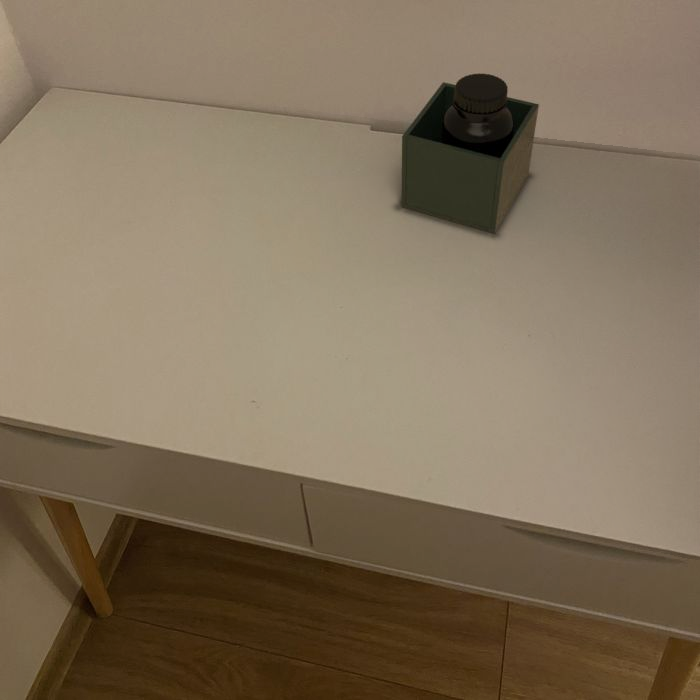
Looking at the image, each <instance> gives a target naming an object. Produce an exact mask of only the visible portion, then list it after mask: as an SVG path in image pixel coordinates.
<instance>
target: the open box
mask: <svg viewBox="0 0 700 700" xmlns="http://www.w3.org/2000/svg"><path fill="white" fill-rule="evenodd" d="M455 85H456V84H453V83H449V82H445V81H443V82H442V83H440V85H439V87H438V88H437V89H436V91H435V92H434V93H433V95H432V96H431V97H430V98H429V100H428V101H427V103H426V104H425V105H424V106H423V108H422V109H421V110H420V112H419V113H418V115H417V116H416V117H415V118H414V120H413V121H412V122H411V124H410V125H409V126H408V128H407V129H406V131H405V132H403V135H402V136H401V201H400V202H401V205H400V206H401V207H402V208H404V209H407V210H412V211H414V212H418V213H422V214H425V215H428V216H432V217H434V218H435V217H436V218H439V219H442V220H445V221H450V222H453V223H456V224H460V225H463V226H467V227H469V228H474V229H477V230H481V231H484V232H487V233H491V234H494V235H495V234H496V232H497V231H498V229H499V227H500V225H501V224H502V223H503V220H504V218H505V216H506V215H507V213H508V211H509V210H510V208H511V206H512V205H513V202H514V201H515V199H516V197H517V195H518V194H519V192H520V190H521V189H522V187H523V185H524V183H525V181H526V180H527V178H528V176H529V171H530V166H531V158H532V154H533V146H534V139H535V134H536V133H535V132H536V126H537V120H538V115H539V114H538V113H539V107H540V103H534V102H530V101H526V100H522V99H519V98H513V97H509V96H507V106H506V107H507V108H508V109H509V111H510V112H511V114H512V116H513V119H514V133H513V139H512V140H511V142H510V143H509V145H508V147H507V148H506V150H505V151H504V153H503V155H502V156H501V158H497V157H493V156H489V155H486V154H482V153H478V152H474V151H470V150H466V149H462V148H458V147H454V146H451V145H447V144H443V143H441V129H442V119H443V116H444V114H445V112H446V111H447V109H448V108H449V107H450V106H452V105H453V97H454V93H455Z"/></svg>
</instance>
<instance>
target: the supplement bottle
mask: <svg viewBox="0 0 700 700" xmlns="http://www.w3.org/2000/svg"><path fill="white" fill-rule="evenodd" d="M454 85H455V93H454V97H453V105H452V106H450V107H449V108H448V109H447V111H446V112H445V114H444V116H443V119H442V129H441V143H443V144H447V145H451V146H454V147H458V148H462V149H466V150H470V151H474V152H478V153H482V154H486V155H489V156H493V157H497V158H501V156H502V155H503V153H504V151H505V150H506V148H507V147H508V145H509V143H510V142H511V140H512V139H513V133H514V119H513V116H512V114H511V112H510V111H509V109H508V108H507V107H506V106H507V97H508V85H507V82H505V80H503V79H502V78H500V77H499V76H496V75H494V74H490V73H472V74H467V75H464V76H463V77H461V78H459V79H458V81H456V83H455V84H454Z"/></svg>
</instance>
